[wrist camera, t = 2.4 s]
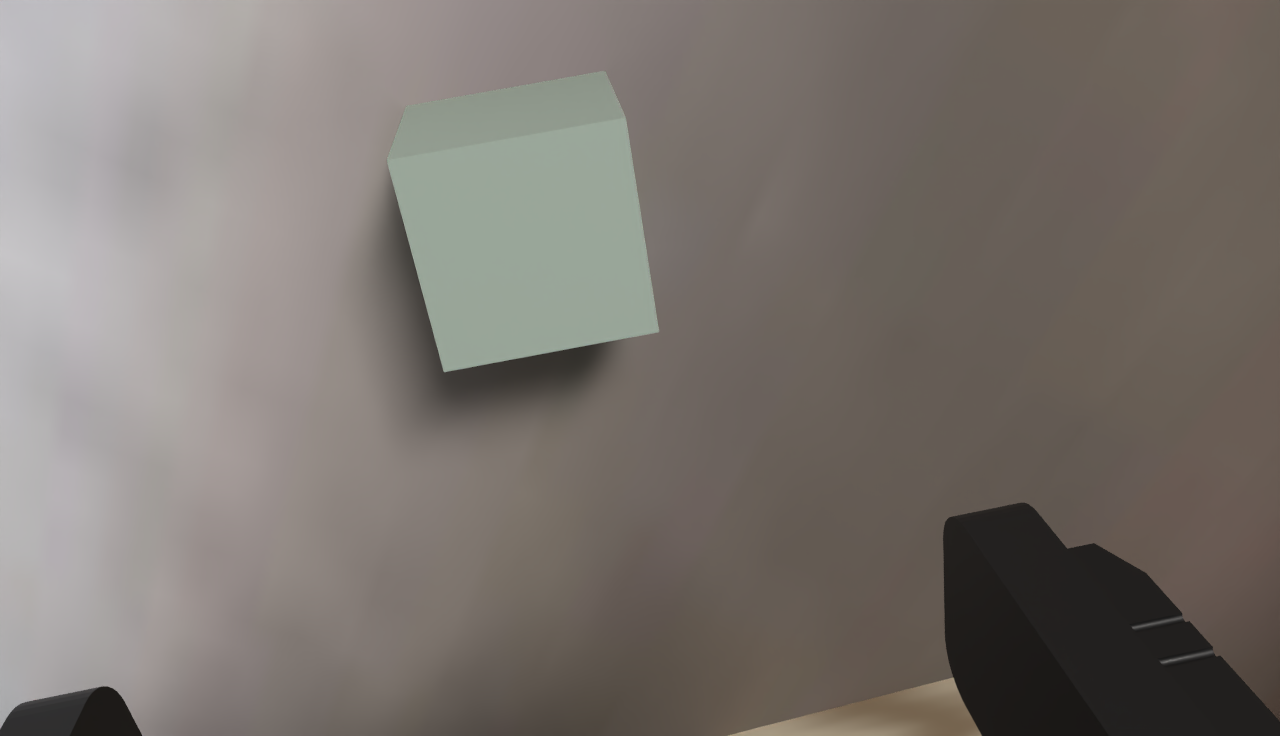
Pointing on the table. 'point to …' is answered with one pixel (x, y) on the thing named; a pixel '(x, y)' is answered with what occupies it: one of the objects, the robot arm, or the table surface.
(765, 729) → the maple block
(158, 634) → the table surface
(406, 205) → the sage cube
